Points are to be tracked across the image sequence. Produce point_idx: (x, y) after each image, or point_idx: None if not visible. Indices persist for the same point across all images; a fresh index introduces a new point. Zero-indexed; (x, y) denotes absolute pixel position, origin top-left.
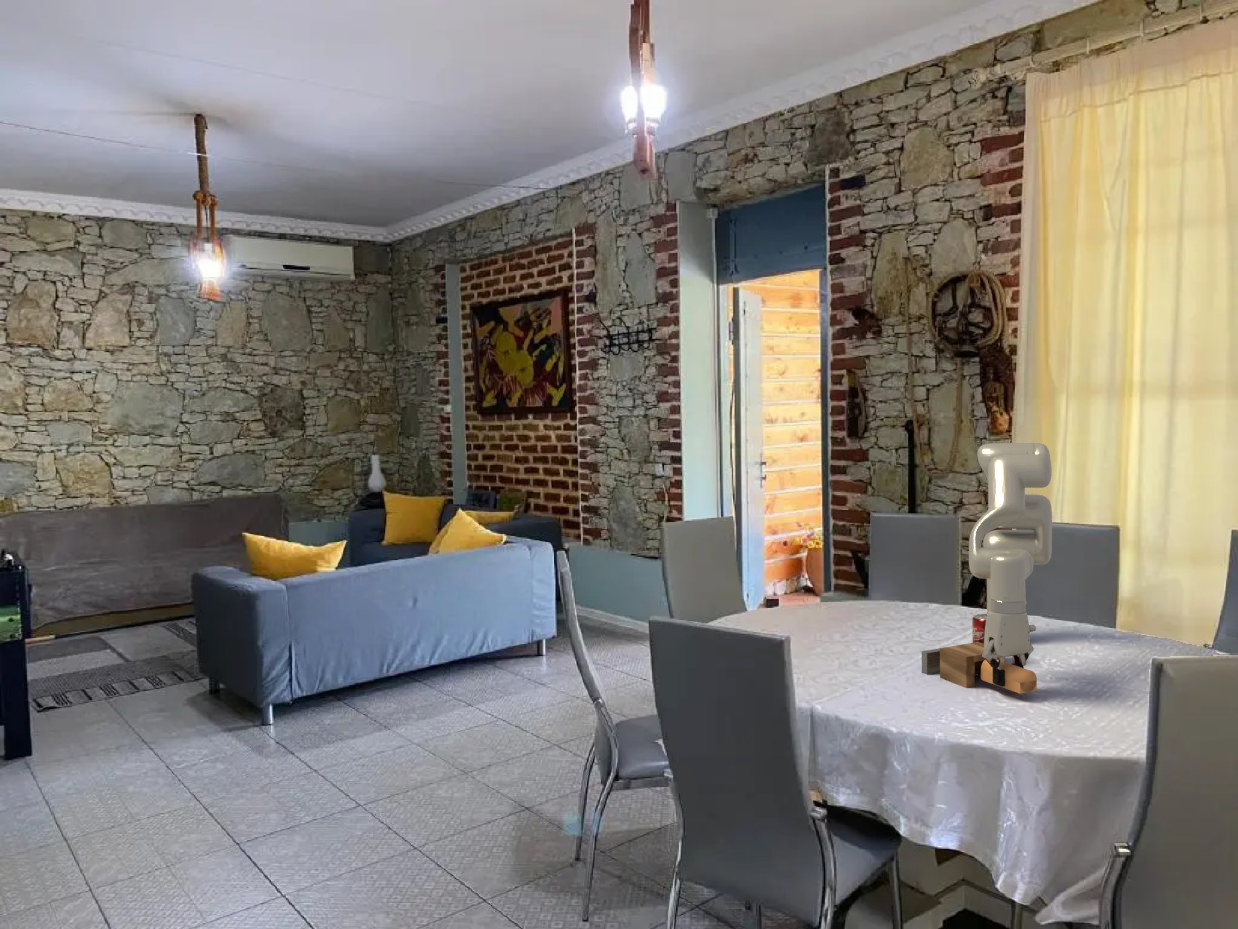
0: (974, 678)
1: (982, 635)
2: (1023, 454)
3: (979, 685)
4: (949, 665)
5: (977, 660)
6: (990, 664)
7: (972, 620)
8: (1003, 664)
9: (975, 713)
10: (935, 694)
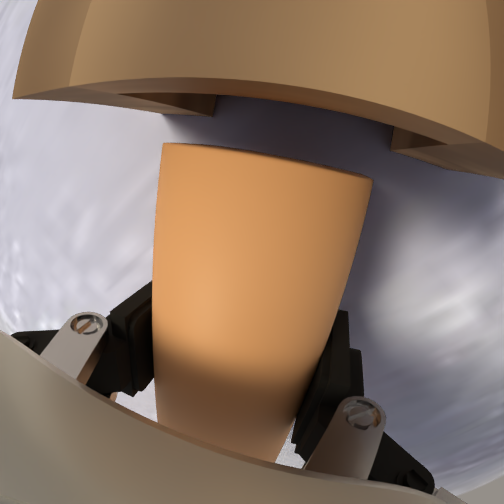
0: (191, 110)
1: None
2: None
3: (252, 118)
4: None
5: (140, 92)
6: (52, 337)
7: None
8: (176, 383)
9: (39, 312)
10: (39, 122)
